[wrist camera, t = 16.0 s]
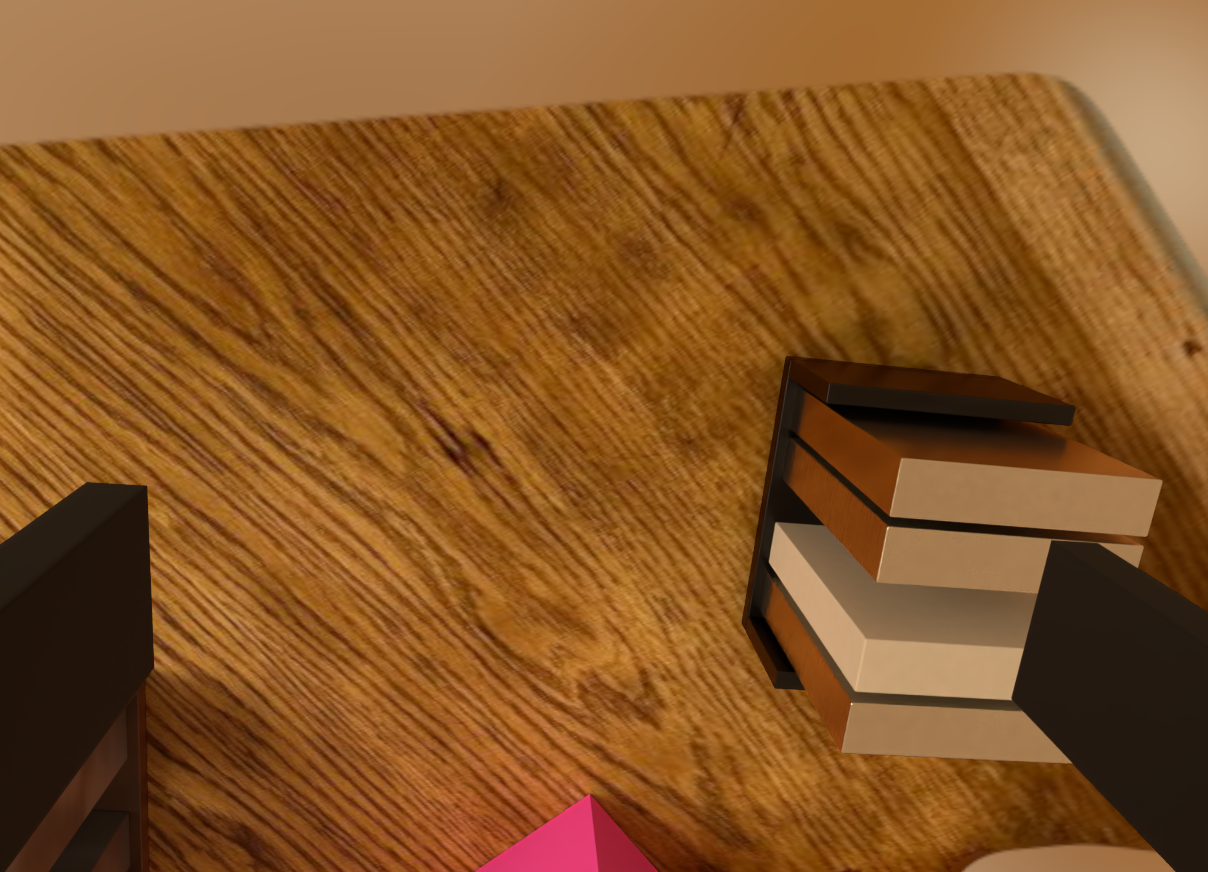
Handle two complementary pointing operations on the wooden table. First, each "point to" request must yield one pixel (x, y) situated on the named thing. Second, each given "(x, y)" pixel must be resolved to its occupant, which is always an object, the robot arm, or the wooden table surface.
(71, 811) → the walnut book rack
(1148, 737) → the robot arm
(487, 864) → the bracket
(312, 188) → the wooden table surface
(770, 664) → the black book rack
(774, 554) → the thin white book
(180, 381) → the wooden table surface
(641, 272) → the wooden table surface
